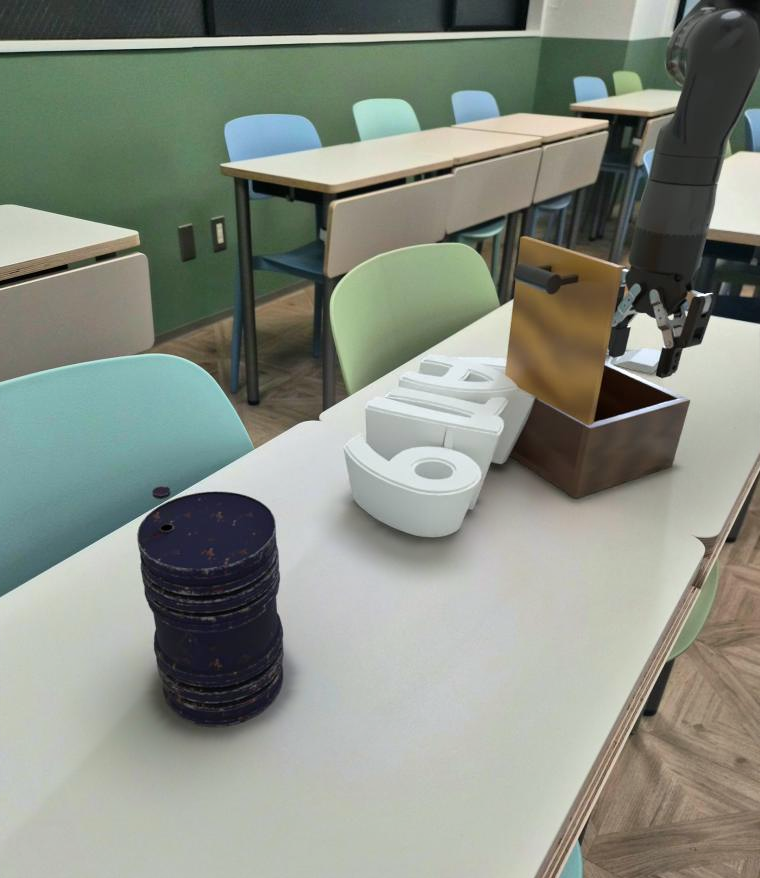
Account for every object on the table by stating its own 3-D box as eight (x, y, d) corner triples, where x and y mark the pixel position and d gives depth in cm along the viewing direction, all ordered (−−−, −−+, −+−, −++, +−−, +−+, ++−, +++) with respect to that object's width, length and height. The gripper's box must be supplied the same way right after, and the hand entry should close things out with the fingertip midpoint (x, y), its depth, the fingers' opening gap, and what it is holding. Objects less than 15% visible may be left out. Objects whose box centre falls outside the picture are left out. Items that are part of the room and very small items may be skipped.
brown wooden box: (589, 421, 100) (602, 360, 96) (672, 466, 90) (690, 399, 85) (497, 447, 94) (506, 382, 89) (575, 499, 83) (590, 428, 79)
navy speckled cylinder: (288, 636, 64) (280, 455, 54) (281, 727, 55) (271, 531, 46) (173, 637, 63) (145, 455, 54) (149, 728, 55) (111, 532, 46)
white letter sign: (446, 403, 103) (452, 332, 98) (561, 431, 96) (574, 355, 91) (308, 521, 78) (306, 432, 72) (451, 571, 70) (460, 477, 65)
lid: (526, 235, 80) (488, 241, 78) (623, 266, 70) (582, 273, 68) (509, 378, 89) (475, 387, 87) (593, 424, 79) (556, 435, 76)
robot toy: (651, 374, 115) (654, 358, 114) (578, 356, 121) (580, 342, 120) (665, 360, 120) (668, 345, 119) (594, 344, 126) (597, 330, 125)
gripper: (752, 234, 77) (709, 381, 85) (645, 209, 87) (616, 342, 96) (704, 241, 73) (665, 393, 82) (599, 215, 84) (574, 351, 93)
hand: (639, 365), depth 89 cm, fingers open, 7 cm apart
